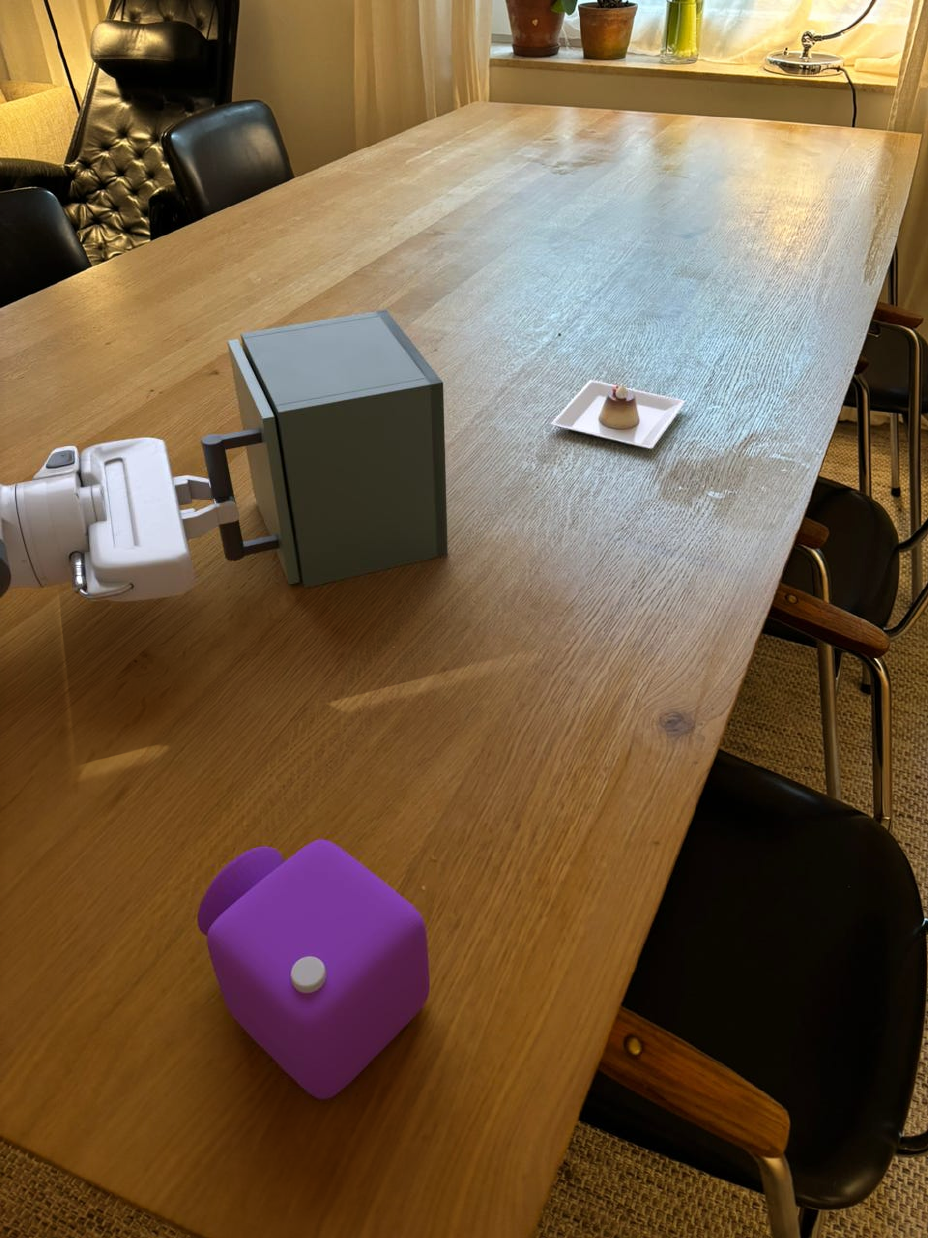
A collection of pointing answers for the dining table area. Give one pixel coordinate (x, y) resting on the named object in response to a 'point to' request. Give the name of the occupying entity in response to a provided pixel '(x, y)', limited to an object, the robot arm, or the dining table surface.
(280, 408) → the housing
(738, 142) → the dining table surface
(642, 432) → the dessert
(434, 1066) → the dining table surface
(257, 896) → the toy camera
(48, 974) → the dining table surface
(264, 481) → the door
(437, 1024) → the dining table surface
